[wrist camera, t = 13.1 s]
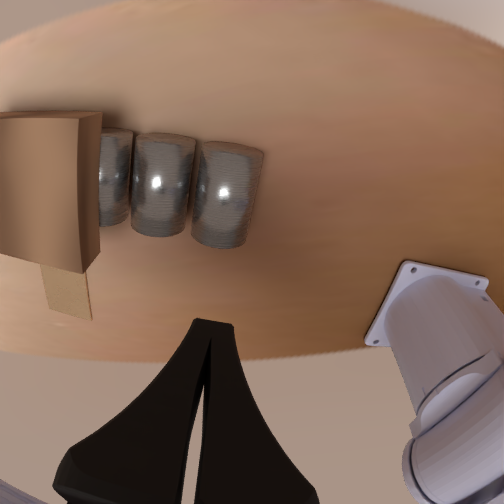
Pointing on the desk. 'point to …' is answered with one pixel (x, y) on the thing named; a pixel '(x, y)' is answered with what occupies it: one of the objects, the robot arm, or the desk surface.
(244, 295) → the desk surface
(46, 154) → the slab
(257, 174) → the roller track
